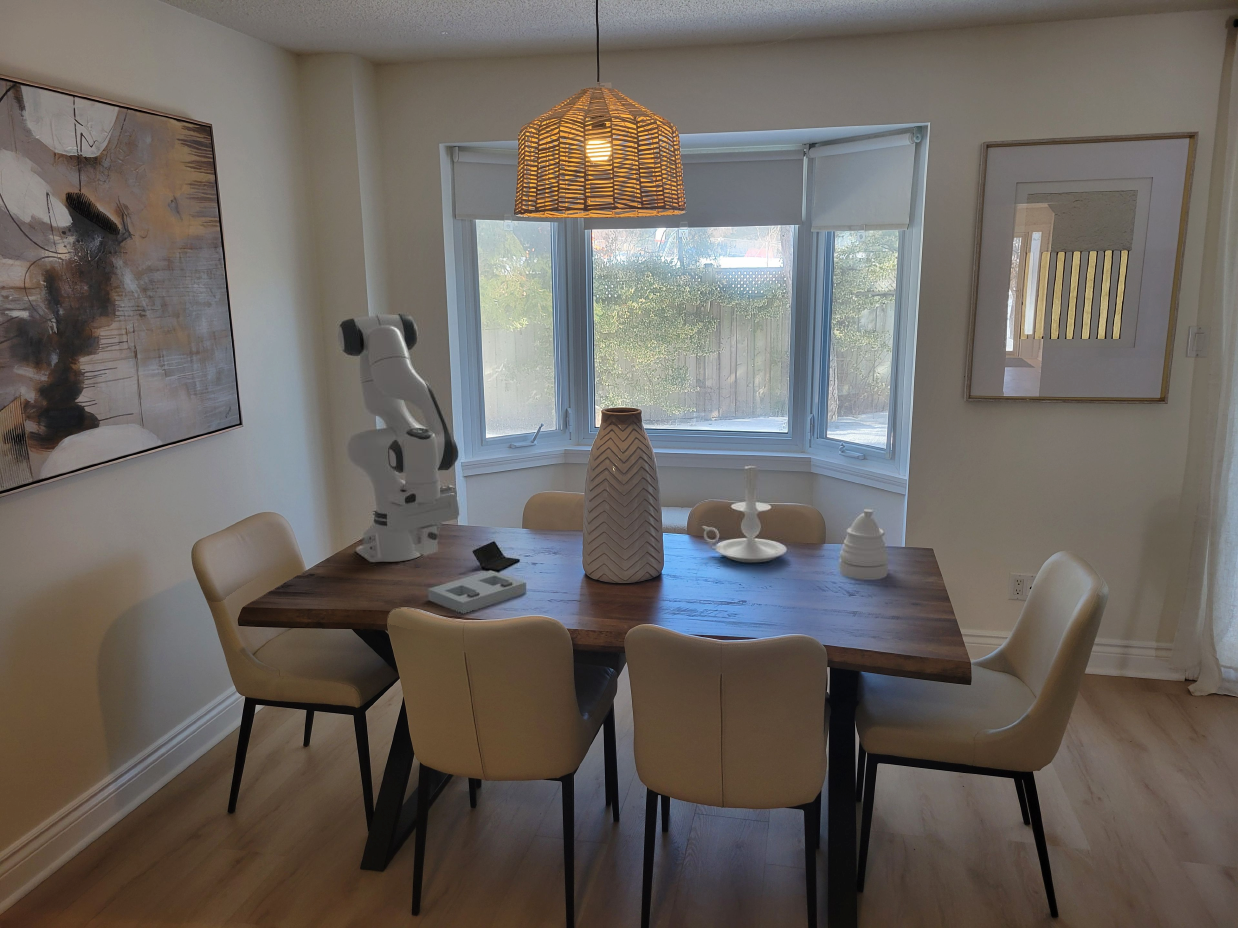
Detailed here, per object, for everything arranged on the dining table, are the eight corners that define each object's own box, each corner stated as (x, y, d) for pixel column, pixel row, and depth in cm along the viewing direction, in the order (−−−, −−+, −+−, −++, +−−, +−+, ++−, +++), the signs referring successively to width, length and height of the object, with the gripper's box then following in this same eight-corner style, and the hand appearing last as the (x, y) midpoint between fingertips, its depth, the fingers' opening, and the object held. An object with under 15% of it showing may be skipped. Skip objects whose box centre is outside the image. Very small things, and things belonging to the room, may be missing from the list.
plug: (414, 554, 228) (413, 525, 226) (427, 551, 231) (426, 522, 229) (429, 560, 223) (428, 530, 222) (442, 556, 226) (441, 527, 224)
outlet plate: (428, 599, 220) (427, 586, 220) (491, 580, 234) (490, 568, 234) (463, 614, 210) (462, 600, 209) (526, 593, 224) (525, 580, 223)
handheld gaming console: (506, 567, 241) (486, 538, 242) (487, 581, 243) (468, 552, 244) (523, 561, 252) (504, 533, 253) (505, 574, 254) (486, 546, 255)
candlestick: (710, 544, 264) (710, 455, 259) (791, 551, 256) (793, 459, 251) (693, 564, 245) (693, 468, 240) (780, 572, 237) (782, 473, 232)
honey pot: (895, 578, 230) (898, 513, 227) (849, 580, 229) (851, 515, 226) (876, 563, 243) (879, 502, 239) (832, 566, 242) (834, 504, 238)
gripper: (449, 482, 233) (451, 531, 236) (382, 495, 219) (385, 547, 222) (462, 486, 229) (464, 535, 232) (395, 500, 215) (398, 552, 218)
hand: (425, 541), depth 227 cm, fingers closed on plug, 4 cm apart
